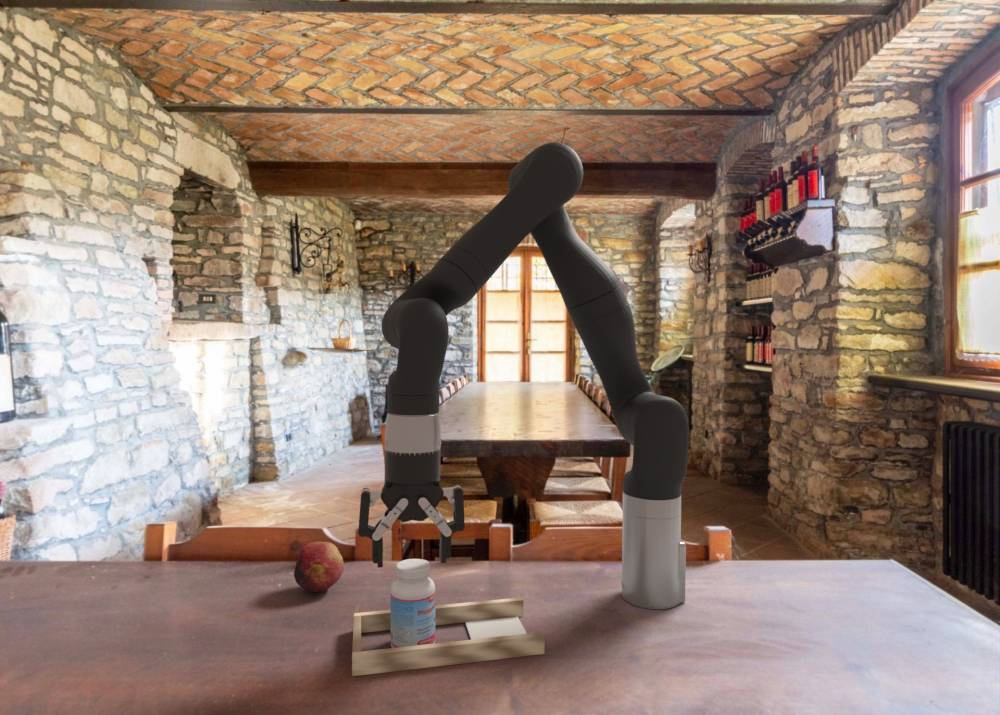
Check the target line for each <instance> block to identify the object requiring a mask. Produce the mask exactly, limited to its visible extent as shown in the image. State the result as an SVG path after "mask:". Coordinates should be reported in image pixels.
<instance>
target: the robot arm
mask: <svg viewBox="0 0 1000 715" xmlns="http://www.w3.org/2000/svg"><path fill="white" fill-rule="evenodd" d="M583 179H584V167H583V163H582V161H581V159H580V156H579V155H578V152H576V151H575V150H574V149H573V148H572V147H570V146H569V145H567V144H564V143H563V142H558V141H557V142H556V141H555V142H554V141H553V142H547V143H543V144H542V145H539V146H537V147H536V148H534V149H533V150H531V152H529V153H528V154H527V155H526V156H525V157H523V158H522V159H521V160H519V162H518V163H517V164H515V166H514V167H513V168H512V169H511V171H510V174H509V176H508V192H507V193H506V195H505V196H504V197H503V198H502V199H501V200H500V201H499V202H498V203H497V204H495V206H494V207H493V208H492V209H491V210H489V212H487V213H486V214H485V215H484V216H483V217H482V218H481V219H480V220H479V221H477V222H476V223H475V224H474V225H473V226H471V227H470V228H469V229H467V231H466V232H465V233H464V234H462V235H461V237H459V239H458V240H457V241H455V243H454V244H452V246H451V247H450V248H449V249H448V250H447V251H446V252H445V253H444V254H443V255H442V257H440V258H439V260H438V261H436V263H435V264H434V265H433V267H432V268H431V269H430V270H429V271H428V272H427V273H426V274H425V275H424V276H422V277H421V278H420V279H418V280H417V281H415V283H413V284H412V285H411V286H410V287H409V288H407V289H406V290H405V291H404V292H402V293H401V294H400V295H399V296H398V297H397V298H396V299H395V300H394V301H393V302H392V303H391V304H390V305H389V307H388V308H387V309H386V311H385V312H384V315H383V316H382V319H381V332H382V336H383V338H384V340H385V341H386V343H387V344H389V345H390V346H392V347H393V348H395V349H397V350H398V354H397V362H396V369H395V370H394V371H392V372H391V373H390V375H389V376H388V381H387V395H386V396H387V397H386V398H387V401H386V403H387V405H386V407H387V408H386V409H387V410H386V411H387V412H386V421H385V429H384V441H383V443H384V482H383V483H384V484H383V487H382V488H381V489H380V490H379V489H377V490H376V489H373V490H372V489H369V488H368V487H364V488H362V489H361V491H360V493H361V494H360V501H359V502H360V504H359V516H358V518H359V519H358V531H357V532H358V536H359V537H362V538H364V537H365V538H368V539H371V541H372V544H371V545H372V546H371V552H372V553H371V554H372V555H371V556H372V557H371V558H372V559H371V560H372V563H373V564H377V567H376V568H377V569H379V568H383V567H384V535H385V533H386V532H387V531H388V530H389V529H390V528H391V527H392V526H393V524H395V522H396V520H397V521H399V522H401V523H407V522H410V521H416V522H424V521H425V520H427V519H428V518H429V519H430V520H431V522H432V523H434V525H435V526H436V527H437V529H438V530H439V531H440V532H439V554H438V555H439V556H438V557H439V561H440V564H446V563H447V559H450V558H451V555H452V536H453V534H455V533H458V532H463V531H464V530H465V528H466V524H465V520H466V519H465V502H464V490H463V489H462V487H461V485H460V484H458V483H456V484H453V485H452V486H450V487H442V486H441V485H442V484H441V446H442V436H441V429H442V428H441V421H440V378H441V375H442V372H443V368H444V363H445V359H446V354H447V350H448V349H447V348H448V344H449V333H450V332H449V323H448V322H449V321H448V315H449V314H450V313H451V312H453V311H454V310H457V309H459V308H461V307H464V306H465V305H467V304H468V303H469V302H471V300H472V299H473V298H474V297H475V296H476V295H477V294H478V292H480V291H481V289H482V288H483V287H484V286H485V285H486V284H487V282H488V281H490V279H491V278H492V276H494V274H495V273H496V272H497V270H498V269H499V268H500V267H501V266H502V265H503V264H504V262H506V260H507V259H508V257H509V256H510V255H512V253H513V252H514V251H515V250H516V248H517V247H518V246H519V245H520V244H521V243H522V242H523V240H525V239H526V237H527V236H528V235H529V234H530V235H531V236H532V238H533V239H534V242H535V243H536V245H537V246H538V248H539V251H540V253H541V254H542V256H543V259H544V261H545V263H546V266H547V267H548V270H549V271H550V274H551V276H552V279H553V280H554V282H555V285H556V286H557V288H558V292H559V293H560V295H561V297H562V301H563V304H564V306H565V308H566V309H567V310H566V311H567V312H568V315H569V316H570V319H571V321H572V323H573V326H574V327H575V330H576V331H577V334H578V335H579V338H580V340H581V341H582V343H583V345H584V348H585V351H586V352H587V354H588V357H589V359H590V360H591V362H592V363H591V364H592V365H593V367H594V368H595V370H596V372H597V374H598V376H599V379H600V380H601V384H602V387H603V389H604V392H605V395H606V399H607V401H608V404H609V407H610V409H611V412H612V416H613V421H614V422H615V424H616V428H617V430H618V433H619V434H620V435H621V437H622V438H623V439H624V440H625V441H626V442H627V443H629V444H630V445H631V446H633V451H632V452H633V453H632V455H633V456H632V457H633V458H632V467H631V469H630V471H627V472H625V474H624V475H623V477H622V529H621V530H622V534H621V535H622V536H621V537H622V539H621V541H622V542H621V543H622V544H621V551H622V552H621V595H622V598H623V599H624V600H625V601H626V602H628V603H629V604H631V605H634V606H637V607H638V608H639V607H641V608H644V609H651V610H666V609H670V608H673V607H676V606H677V605H679V604H680V603H686V577H687V576H686V573H687V572H686V571H687V570H686V569H687V566H686V565H687V563H686V562H687V559H686V558H687V545H686V542H684V541H682V536H681V535H682V534H681V533H682V527H681V526H682V486H683V484H684V482H685V479H686V477H687V471H688V457H689V441H690V439H689V438H690V429H689V428H690V427H689V418H688V416H687V413H686V410H685V408H684V407H683V405H682V404H681V403H680V402H679V401H677V400H676V399H674V398H672V397H669V396H665V395H660V394H656V392H655V390H654V389H653V387H652V386H651V384H650V383H649V380H648V378H647V376H646V374H645V372H644V369H643V368H642V365H641V363H640V360H639V356H638V351H637V350H638V349H637V343H636V342H637V341H636V329H635V328H636V327H635V320H634V316H633V312H632V308H631V305H630V304H629V302H628V298H627V296H626V294H625V292H624V290H623V287H622V285H621V283H620V281H619V278H618V276H616V273H615V272H614V271H613V270H612V268H611V267H610V266H609V264H607V262H605V261H604V260H603V259H602V258H601V257H600V256H598V254H597V253H596V252H595V251H594V250H592V249H591V248H590V246H588V245H587V244H586V243H585V242H584V241H583V239H582V238H581V237H580V236H579V234H578V232H577V231H576V229H575V227H574V225H573V224H572V220H571V219H570V217H569V214H568V212H567V210H566V207H565V205H566V204H567V203H568V202H570V201H571V200H572V199H573V198H574V197H575V196H576V194H577V193H579V192H578V191H579V190H580V188H581V187H582V183H583ZM444 497H446V498H447V500H448V502H449V503H450V504H452V512H453V513H452V514H453V515H452V516H453V520H451V521H449V522H448V521H447V520H446V519H445V517H444V516H443V514H441V512H440V511H439V509H438V508H437V507H438V505H439V503H441V501H442V500H443V498H444ZM379 500H381V501H382V503H383V504H384V505H385V507H386V509H385V511H384V512H383V513H382V515H381V517H380V519H378V520H377V522H376V524H375V525H370V524H369V520H370V519H369V518H370V508H373V507H375V505H376V503H377V501H379Z"/></svg>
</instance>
